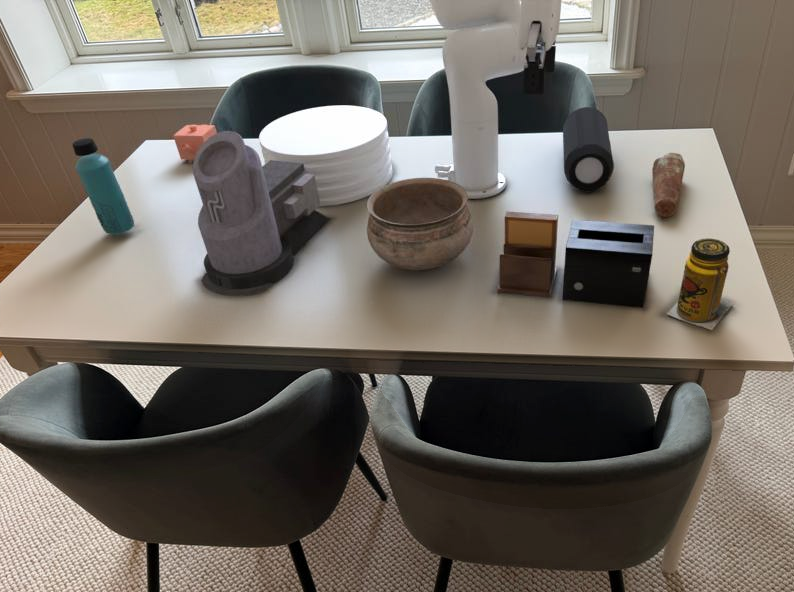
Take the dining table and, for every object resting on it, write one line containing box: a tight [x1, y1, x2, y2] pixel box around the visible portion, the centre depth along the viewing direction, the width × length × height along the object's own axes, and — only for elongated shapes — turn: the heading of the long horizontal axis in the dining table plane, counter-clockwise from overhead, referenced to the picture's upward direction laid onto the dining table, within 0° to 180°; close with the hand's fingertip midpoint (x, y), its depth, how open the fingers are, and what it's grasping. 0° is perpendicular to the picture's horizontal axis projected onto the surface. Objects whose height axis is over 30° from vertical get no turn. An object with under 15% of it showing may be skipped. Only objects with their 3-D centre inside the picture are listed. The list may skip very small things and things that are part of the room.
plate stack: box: [258, 104, 394, 207], centre depth 150 cm, size 28×28×12 cm
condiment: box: [666, 237, 734, 331], centre depth 102 cm, size 7×8×12 cm
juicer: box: [192, 130, 331, 297], centre depth 122 cm, size 30×16×24 cm, turn 158°
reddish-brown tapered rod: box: [651, 152, 686, 218], centre depth 133 cm, size 6×19×6 cm, turn 161°
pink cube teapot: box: [172, 124, 218, 163], centre depth 165 cm, size 8×12×8 cm, turn 168°
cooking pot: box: [366, 177, 474, 271], centre depth 119 cm, size 25×19×12 cm
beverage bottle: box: [71, 137, 135, 235], centre depth 133 cm, size 6×7×20 cm
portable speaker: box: [562, 106, 615, 193], centre depth 144 cm, size 26×10×10 cm, turn 172°
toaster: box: [561, 219, 655, 309], centre depth 109 cm, size 13×10×10 cm
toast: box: [504, 211, 559, 277], centre depth 112 cm, size 8×2×11 cm, turn 74°
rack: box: [496, 243, 558, 298], centre depth 113 cm, size 9×8×7 cm
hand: (539, 82), depth 107 cm, fingers open, 9 cm apart
